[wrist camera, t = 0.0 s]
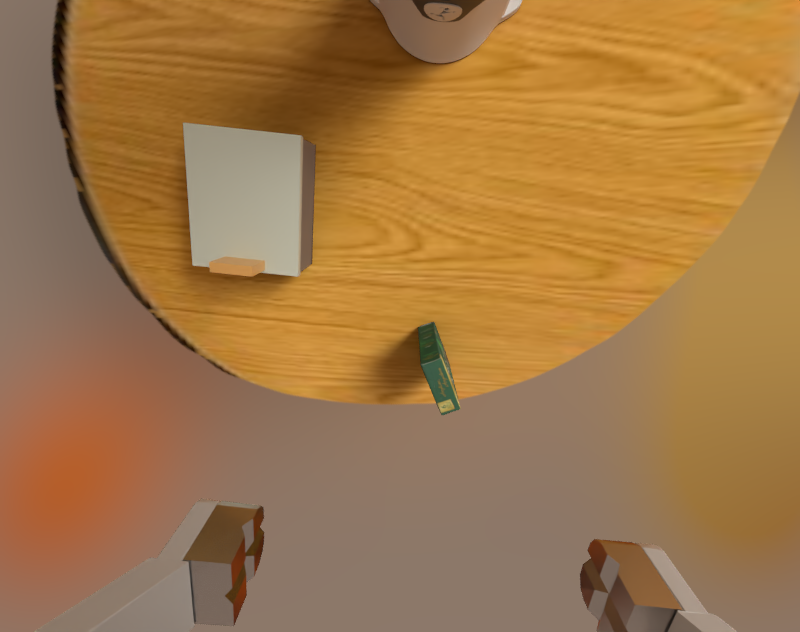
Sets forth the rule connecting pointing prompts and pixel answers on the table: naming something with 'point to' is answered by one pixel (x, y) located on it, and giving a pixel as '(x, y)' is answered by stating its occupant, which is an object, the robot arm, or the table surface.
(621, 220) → the table surface
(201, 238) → the lid
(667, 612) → the robot arm
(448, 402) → the coffee box
